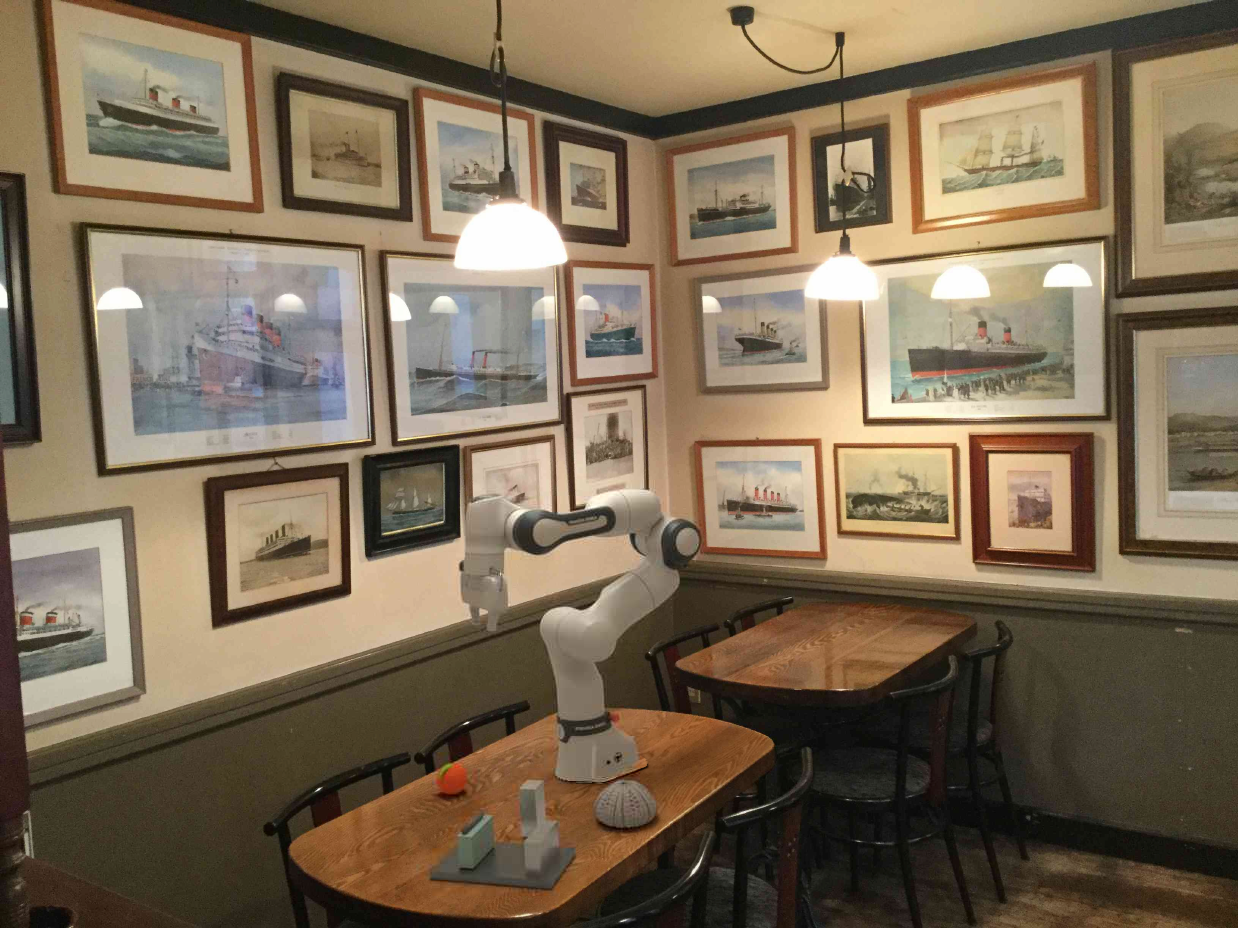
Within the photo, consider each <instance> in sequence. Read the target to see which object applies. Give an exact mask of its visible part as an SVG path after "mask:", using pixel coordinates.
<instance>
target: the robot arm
mask: <svg viewBox="0 0 1238 928" xmlns="http://www.w3.org/2000/svg"><path fill="white" fill-rule="evenodd" d="M464 526H465V529H464V534H465V539H466V547H465V549H464V558H463V559H462V560H460V561H459V563H458V571H459V572H460V579H459V580H460V584H459V585H460V597H461V600H462V603H464V604H467V605H469V606H468V607H469V608H468V609H469V613H470V617H471V625H474V626H481V624H482V617H481V615H480V614H481V613H480V609H481V610H484V611H487V616H488V620H487V621H488V622H486V630H487V631H488V632H496V631H497V625H498V621H499V617H500V613H506V612H507V610H508V608H509V595H508V593H509V592H508V582H507V580H506V577H504V574H505V550H506V549H507V548H508V549H511V550H514V551H520V552H525V553H527V554H530V555H532V556H543V555H546V554H548V553H550V552H552V551H554V550H555V549H556V548H558V547H559V546H560V545H562V544H564V543H566V542H569V541H574V540H578V539H583V538H588V537H597V538H614V537H620V536H621V537H622V536H626V535H629V541H630V543H631V544H630V545H631V546H632V548H633V549H634V551H636V552H637V553H638V554H639V555H641V556H643V557H645V558H644V559H643V560H642V562H640V564H639V565H638V566H637V567H634V569H632V570H630V571H628V572H627V573H625V574H624V575H622V576H621V577H619V578H618V579H616V580H615V581H613V582H611V583H610V584H609V585H607V586H605V587H603V589H602V590H601V592H600V594H599V597H598V599H597V600H596V601H595V602H594V603H593V604H592V605H591V606H589V607H588V608H585V609H582V610H580V609H577V608H574V607H571V606H559V607H555V608H551V609H550V610H548V611H547V612H546V613H544V615H543V617H542V619H541V620H540V624H539V632H540V633H539V634H540V636H541V639H542V640H543V642H544V644H545V646H546V648H547V649H546V650H547V652H548V655H549V660H550V663H551V668H552V671H553V674H554V679H555V685H556V697H557V711H558V712H557V715H556V725H557V726H556V734H557V737H558V738H557V739H558V753H557V754H558V755H557V761H556V762H557V763H556V766H555V772H554V774H555V777H556V776H557V779H559V778H560V779H559V780H562V779H563V780H562V781H565V780H568V781H567V782H569V781H595V782H602V781H605V780H608V779H610V778H612V777H615V776H617V775H619V774H621V773H623V772H625V771H627V770H629V769H632V768H629V767H633V764H636V763H637V762H639V757H638V753H639V752H638V747H637V744H636V742H635V739H633V737H632V736H630V735H629V734H628V733H626V732H624V731H622V730H621V729H619V727H616V726H615V725H613V723H618V722H619V721H620V720H621V719H620V717H621V716H620V715H619V714H618V713H616V712H610V711H608V710H605V699H604V698H605V695H604V681H603V678H602V676H601V674H600V673H599V672H600V671H599V670H598V668H597V664H596V663H597V662H603V661H605V660H607V659H608V658H609V657H611V655H612V654H613V653H614V651H615V649H616V646H617V643H618V642H617V641H618V639H619V638H620V637H621V636H623V634H624V633H625V631H627V629H629V628H630V627H631V626H633V625H634V624H635V623H637V622H638V621H639V620H641V619H642V618H644V617H645V616H646V615H648V614H650V613H652V612H653V611H654V610H655V609H656V608H658V607H660V606H661V605H662V604H663V603H664V602H665V601H667V600H668V599H669V598H670V597H671V596H672V595H673V594H674V593H675V592H676V591H677V589H678V588H679V585H680V575H679V571H681V570H684V569H686V568H687V567H688V566H689V564H690V562H691V561H692V560H693V559H694V558H695V557H696V556H697V554H698V553H699V551H700V549H701V547H702V542H703V541H702V533H701V531H700V529H699V527H697V526H696V524H694V523H693V522H691V521H689V520H687V519H685V518H678V517H675V516H668V515H664V514H663V512H662V505H661V502H660V499H659V497H658V496H657V494H656V493H654V492H653V491H651V490H648V489H643V488H642V489H640V488H630V489H629V488H627V489H626V488H625V489H617V490H611V491H610V490H609V491H606V492H602V493H599V494H596V495H594V496H591V497H590V498H589V499H588V501H587V502H586V505H585V508H584V509H579V510H574V511H570V512H569V511H568V512H565V513H564V512H563V513H555V512H551V511H548V510H546V509H530V508H529V509H528V508H527V509H526V508H523V507H521V506H518V505H516V504H515V503H512V502H511V501H509V500H507V499H505V498H504V497H503V495H501V494H499V493H490V494H489V493H488V494H481V495H478V496H474V497H472V498H471V499H470V500H469V502H468V504H467V508H466V513H465V525H464ZM612 722H613V723H612ZM634 766H637V765H634ZM627 767H628V768H627Z"/></svg>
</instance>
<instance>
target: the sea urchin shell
mask: <svg viewBox="0 0 1238 928" xmlns="http://www.w3.org/2000/svg"><path fill="white" fill-rule="evenodd" d="M656 802H657V801H656V800H655V796H653V795H652V793H651V792H650V791H649V790H648V788H646V787H645V786H644V785H643V784H641V783H639V782H638V781H636V780H626V779H625V780H624V779H619V780H616V781H614V783H611V784H610V785H609V786H606V788H603V790H602V791H601V792H599V795H598V796H597V797H596V800H595V801H594V803H593V808H592V810H593V814H594V815H595V818H597V819H598V821H599V822H602V824H604V825H607V826H609V827H611V828H612V827H616V828H618V829H619V828H621V829H623V828H627V829H633V827H634V828H638V827H639V826H640V827H642V826H643V825H646V824H648V823H649V822H652V820H653V819H654V818H655V817H656V814H657V810H658V807H657V806H658V804H657V803H656ZM641 825H642V826H641ZM630 827H632V828H630Z"/></svg>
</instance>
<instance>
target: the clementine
mask: <svg viewBox="0 0 1238 928" xmlns="http://www.w3.org/2000/svg"><path fill="white" fill-rule="evenodd" d="M436 782H437V783H436V784H437V787H439V789H440V790H441V791H442V793H444V794H446V795H457V794H459V793H461V792H462V791H463V790H464V788H465V787H466V786H467V783H468V772H467V770H466V769H465V768H464V766H463V765H461V764H459V763H457V762H451V763H446V764H445V765H443V766H442V767H441V769H440V770H439V771H438V773H437V777H436Z"/></svg>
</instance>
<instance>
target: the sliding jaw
mask: <svg viewBox="0 0 1238 928" xmlns="http://www.w3.org/2000/svg"><path fill="white" fill-rule="evenodd" d="M456 842H457V843H456V845H457V847H458V862H459V867H460V868H473V869H474V867H475V866H476V865H477V864H478V863H479V862H480V861H481V860H482V859H483V858H484V857H485V856H486V854H487V853H488V852H489V851H490V850H491V849H492V848H493V847H494V846H495V842H496V841H495V830H494V815H490V814H489V815H487V814H485V813H484V812H483V811H482V810H480V811H479V812H477V813H476V814H475V815H474V816H473V817H472V818H471V819H470V820H469V821H468V822H467V823H466V824H465V825H464V826H463V827H462V828H461V829H460V832H459V834H457V835H456Z"/></svg>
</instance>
